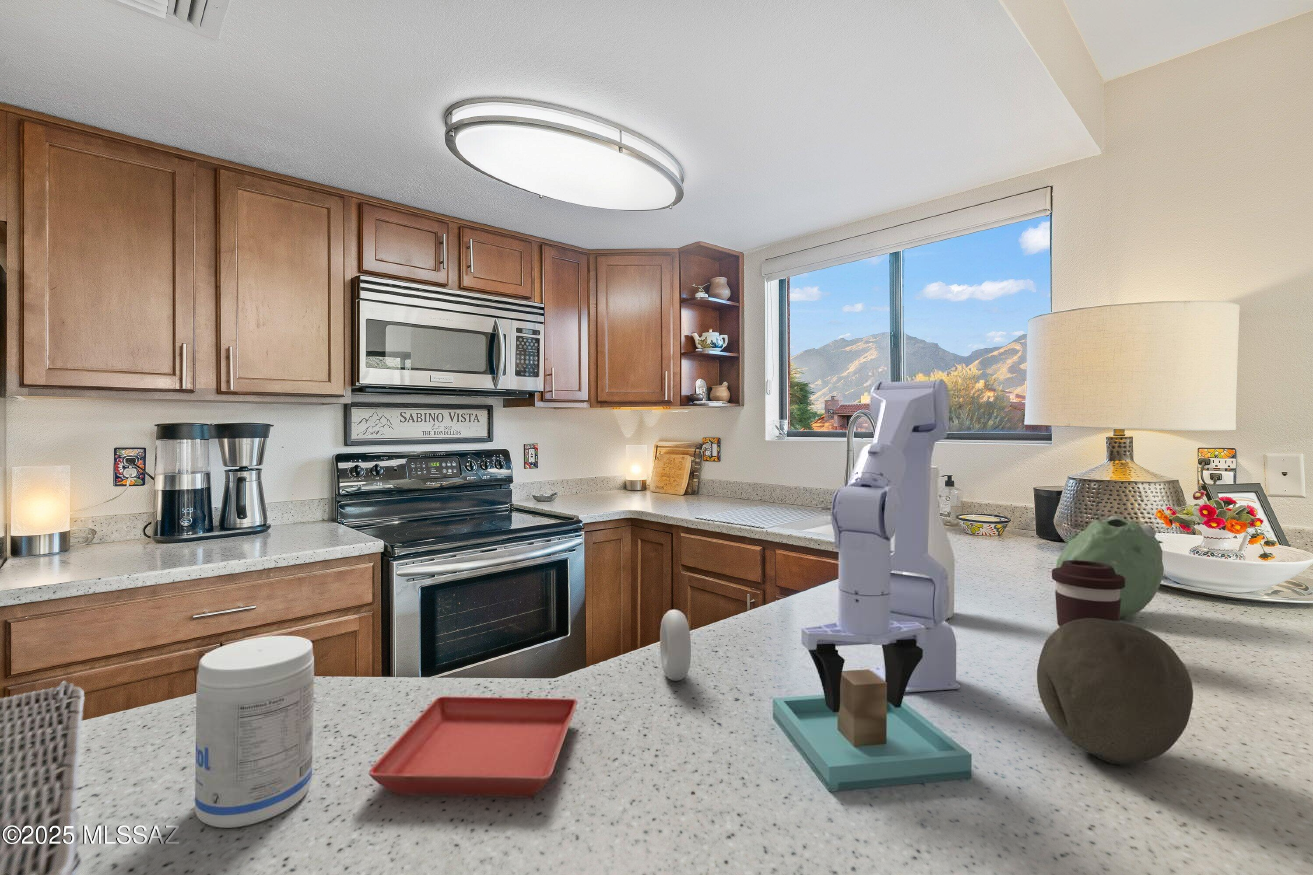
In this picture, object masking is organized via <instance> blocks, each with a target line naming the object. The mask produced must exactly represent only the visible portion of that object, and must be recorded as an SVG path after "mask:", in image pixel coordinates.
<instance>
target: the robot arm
mask: <svg viewBox="0 0 1313 875" xmlns="http://www.w3.org/2000/svg"><path fill="white" fill-rule="evenodd" d="M949 392H950V390H949V385H948V384H947V382H946V381H945V380H944V379H943V378H937V379H935V380H934V379H932V380H909V381H908V380H907V381H889V382H883V381H877V382H875V383H874V385H873V386H872V388H871V390H870V396H869V410H870V416H871V417H872V419H873V421H874V424H875V426H876V427H875V430H874V431H875V432H874V435H873V439H872V443H869V444H867V445H865V446H864V447H863V448H862V449H861V450H860V451H859V455H858V456H857V460H856V462H855V465H854V467H853V470H852V472H851V474H850V477H849V480H848V482H847V485H845V486H843V487H842V488H841V489H837V490H836V491H835V493H834V494H833V497H832V502H831V509H830V517H831V518H830V519H831V520H830V521H831V526H832V529H833V532H834V533H833V534H834V545H835V546H834V547H835V549H837V550H838V590H837V591H838V592H837V593H838V596H837V597H838V598H837V599H838V600H837V601H838V610H837V611H838V616H837V617H838V618H837V619H838V620H837V621H836V622H835V621H834V622H830V623H823V624H820V625H816V626H815V625H814V626H808V627H801V644H802V646H803V647H804V648H806V649H807V651H808V652H809V654H810V657H811V659H812V661H813V663H814V665H815V668H816V670H817V674H818V677H819V679H820V683H821V687H822V691H823V695H824V696H825V702H826V706H827V707H828V708H829V709H830V710H831V711H832V712H839V710H840V683H841V675H842V671H844V670H843V668H844V665H845V661H846V659H845V658H844V657H843V656H841V655H840V654H839V650H838V649H837V648H836V647H844V646H845V647H846V646H859V645H860V646H863V645H873V646H881V648H882V654H883V657H882V659H883V661H882V662H883V665H882V666H883V667H880V666H879V667H872V668H871V670H870V671H872V672H873V673H874V674H876V675H877V676H878V677H880V678H881V679H882V680H884V681H885V682H886V683H887V701H888V702H889V703H890V704H892V705H893V706H894V707H895V708H900V707H901V704H902V701H904V696H905V693H916V692H927V691H929V692H930V691H944V690H957V689H958V690H959V689H960V688H961V686H960V684H959V683H957V640H956V635H955V632H954V629H953V628H952V627H951V625H950V624H949V623H948V622H947V621H946V620H948V619H947V616H948V610H949V586H948V573H947V571H946V569H945V568H944V567H943V566H942V565H941V564H940V563H938V562H937V561H936V560H935V559H934V558H932V557H931V556H930V555H929V554H928V536H929V509H930V482H931V466H932V456H933V451H934V447H935V443H937V442H938V441H941V440H943V439H945V438H947V433H948V431H949V423H950V419H949V418H950V393H949ZM893 537H894V541H893V552H891V550H892V547H891V546H892V542H891V539H892V538H893ZM893 571H894V572H893ZM895 572H902V573H895ZM903 572H908V573H915V574H923V575H927V576H929V577H930V578H927V577H919V576H912V575H905V574H903Z"/></svg>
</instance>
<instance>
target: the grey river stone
mask: <svg viewBox="0 0 1313 875" xmlns="http://www.w3.org/2000/svg"><path fill="white" fill-rule="evenodd" d="M1049 635H1050V636H1049V637H1048V638H1047V639H1046V640H1045V642H1044V643H1043V647H1042V650H1041V652H1040V655H1039V659H1038V663H1037V669H1036V683H1037V685H1036V686H1037V690H1038V691H1037V692H1038V695H1039V698H1040V701H1041V704H1042V705H1043V708H1044V710H1045V711H1046V714H1047V715H1048V717H1049V719H1050V720H1051V721H1052V723H1053V725H1054V726H1055V728H1057V729H1058V731H1059V732H1060V733H1061V734H1062V735H1063V736H1064V738H1066V739H1067V740H1068V741H1069V742H1070V743H1071V744H1072V745H1074V746H1076V747H1078V748H1081V749H1082V750H1084V751H1085V752H1088V753H1089V754H1091V755H1093V756H1095V757H1096V758H1098V759H1100V760H1102V761H1105V762H1108V763H1111V764H1116V765H1121V766H1122V765H1123V766H1126V765H1129V766H1131V765H1137V764H1143V763H1145V762H1148V761H1150V760H1153V759H1156V758H1158V757H1159V756H1162V755H1163V754H1164V753H1166V752H1168V751H1169V750H1170V749H1171V748H1172V747H1173V745H1175V743H1176V742H1177V741H1178V739H1180V737H1181V736H1182V735H1183V733H1184V731H1185V730H1186V729H1187V726H1188V722H1189V721H1190V717H1191V713H1192V707H1193V702H1194V701H1193V700H1194V688H1193V682H1192V679H1191V675H1190V673H1189V671H1188V669H1187V666H1186V665H1185V664H1184V662H1183V661H1182V660H1181V659H1180V657H1179V656H1178V654H1177V653H1176V652H1175V650H1174V649H1173V648H1172V647H1171V646H1170V645H1169V644H1168V643H1167V642H1166V641H1165V640H1163V639H1162V638H1160V637H1159V636H1157V635H1156V634H1154V633H1153V632H1151V631H1149V630H1146V629H1145V628H1142V627H1140V626H1137V625H1133V624H1130V623H1128V622H1124V621H1120V620H1119V621H1110V620H1105V619H1097V618H1083V619H1077V620H1073V621H1070V622H1068V623H1065V624H1064V625H1062V626H1060V627H1059V626H1058V628H1056V629H1055V631H1054V632H1052V633H1051V634H1049Z"/></svg>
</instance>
